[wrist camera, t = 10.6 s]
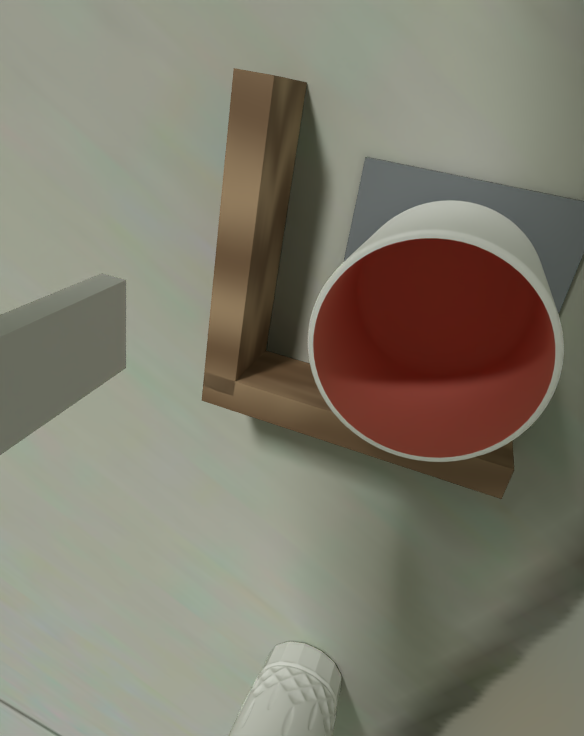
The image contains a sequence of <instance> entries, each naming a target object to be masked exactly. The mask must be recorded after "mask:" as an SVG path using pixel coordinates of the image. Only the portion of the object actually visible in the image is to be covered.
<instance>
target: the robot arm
mask: <svg viewBox="0 0 584 736" xmlns="http://www.w3.org/2000/svg"><path fill="white" fill-rule="evenodd" d="M125 368H126V280H124V279H121V278H117V277H113V276H110V275H106V274H99V275H97V276H94V277H92V278H90V279H87V280H85V281H82V282H80V283H77V284H75V285H72V286H70V287H68V288H65V289H63V290H60V291H58V292H55V293H53V294H50V295H48V296H45V297H43V298H41V299H38V300H36V301H33V302H31V303H28V304H26V305H23V306H21V307H19V308H16V309H14V310H11V311H9V312H6V313H4V314H1V315H0V455H1V454H2V453H4V452H5V451H7V450H8V449H10V448H11V447H12V446H14V445H15V444H17V443H18V442H20V441H21V440H23V439H24V438H25V437H27V436H28V435H30V434H31V433H33V432H34V431H36V430H37V429H38V428H40V427H41V426H43V425H44V424H46V423H47V422H49V421H50V420H51V419H53V418H54V417H56V416H57V415H59V414H60V413H62V412H63V411H64V410H66V409H67V408H69V407H70V406H72V405H73V404H75V403H76V402H77V401H79V400H80V399H82V398H83V397H85V396H86V395H88V394H89V393H90V392H92V391H93V390H95V389H96V388H98V387H99V386H101V385H102V384H103V383H105V382H106V381H108V380H109V379H111V378H112V377H114V376H115V375H116V374H118V373H119V372H121V371H122V370H124V369H125Z"/></svg>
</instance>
